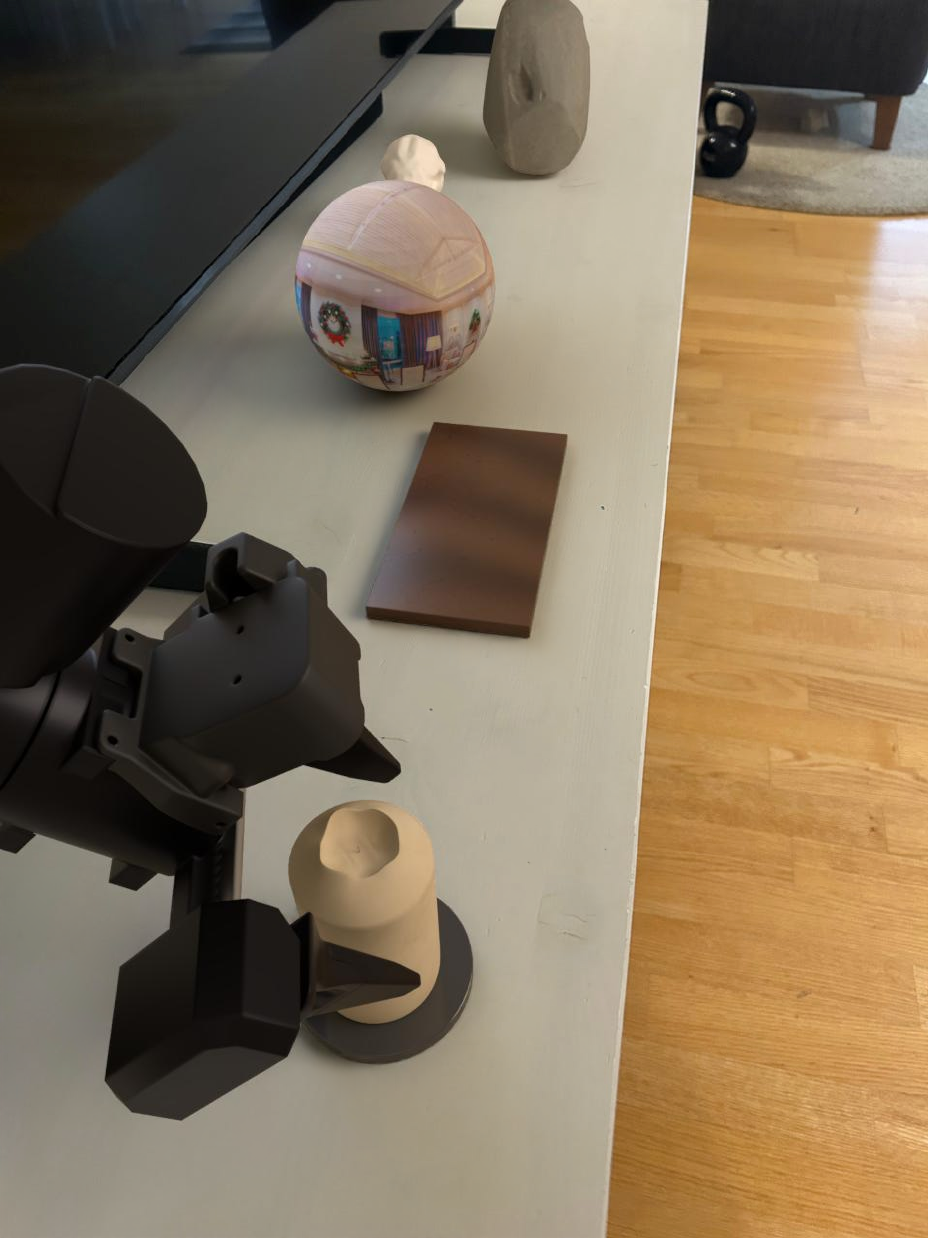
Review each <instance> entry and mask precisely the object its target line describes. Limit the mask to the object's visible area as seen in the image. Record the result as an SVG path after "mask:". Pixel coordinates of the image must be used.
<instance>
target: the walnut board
mask: <svg viewBox="0 0 928 1238" xmlns="http://www.w3.org/2000/svg"><path fill="white" fill-rule="evenodd" d="M568 438H569V437H568V434H567V433H557V432H549V431H536V430H526V429H517V428H515V429H514V428H506V427H505V428H504V427H495V426H494V427H493V426H483V425H475V424H473V425H472V424H463V423H451V422H441V421H433V422H432V425H431V427H430V431H429V434H428V436H427V438H426V441H425V444H424V447H423V450H422V452H421V455H420V458H419V460H418V463H417V466H416V469H415V471H414V474H413V476H412V480H411V481H410V485H409V487H408V490H407V493H406V496H405V499H404V501H403V504H402V506H401V510H400V513H399V515H398V518H397V520H396V523H395V526H394V528H393V530H392V534H391V537H390V539H389V542H388V544H387V548H386V550H385V553H384V556H383V559H382V561H381V564H380V566H379V569H378V572H377V574H376V577H375V580H374V583H373V585H372V588H371V590H370V593H369V596H368V598H367V602H366V604H365V613H366V618H367V619H372V620H380V621H381V620H382V621H389V622H398V623H405V624H415V625H421V626H422V625H423V626H429V627H430V626H431V627H438V628H446V629H454V630H461V631H462V630H463V631H470V632H479V633H486V634H493V635H494V634H495V635H503V636H511V637H519V638H526V639H527V638H528V639H529V638H530V637H531V633H532V628H533V624H534V618H535V614H536V613H535V612H536V606H537V602H538V597H539V591H540V586H541V581H542V576H543V571H544V566H545V561H546V556H547V551H548V547H549V546H548V545H549V541H550V535H551V530H552V524H553V519H554V514H555V510H556V509H555V508H556V505H557V499H558V495H559V488H560V483H561V479H562V472H563V467H564V462H565V457H566V451H567V446H568Z"/></svg>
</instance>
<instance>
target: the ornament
mask: <svg viewBox="0 0 928 1238" xmlns="http://www.w3.org/2000/svg"><path fill="white" fill-rule="evenodd" d="M294 289H295V290H294V291H295V293H294V294H295V301H296V306H297V311H298V315H299V317H300V321H301V323H302V326H303V328H304V330H305V333H306V335H307V336H308V338H309V341H311V344H312V346H314V348H315V349H316V350H317V352H318V353H319V354H320V356H321V357H322V358H323V359H324V361H326V362H327V363H328V364H329V365H330V366H331V367H332V368H333V369H335V370H336V371H337V372H339V373H340V374H341V375H343V376H345V377H346V378H347V379H349V380H351V381H353V382H355V383H358V384H360V385H362V386H364V387H368V388H372V389H376V390H381V391H387V392H406V391H407V392H408V391H409V392H410V391H414V390H419V389H423V388H426V387H429V386H433V385H435V384H437V383H439V382H441V381H443V380H444V379H446V378H448V377H449V376H451V375H453V374H455V372H457V371H458V370H459V369H460V368H462V367H463V365H465V363H467V362H468V360H469V359H470V358H471V357H472V356H473V355H474V353H475V352H476V351H477V349H478V348H479V346H480V345H481V342H482V341H483V339H484V337H485V335H486V333H487V330H488V328H489V325H490V323H491V321H492V316H493V312H494V309H495V300H496V299H495V298H496V277H495V270H494V264H493V259H492V256H491V253H490V250H489V247H488V245H487V242H486V240H485V238H484V236H483V235H482V233H481V231H480V229H479V228H478V225H476V223H475V222H474V221H473V219H472V217H470V215H469V214H468V213H467V212H466V211H465V210H464V209H463V208H462V207H461V206H460V205H459V204H457V202H455V201H454V200H453V199H451V198H450V197H448V196H447V195H446V194H444V193H443V192H441V191H440V192H438V191H436V190H434V189H432V188H430V187H428V186H425V185H421V184H418V183H414V182H410V181H403V180H386V179H384V180H376V181H371V182H368V183H365V184H362V185H359V186H357V187H354V188H351V189H349V190H347V191H346V192H344V193H343V194H341V195H339V196H338V197H337V198H335V199H334V200H332V201H331V202H330V203H329V204H328V205H327V206H325V208H324V209H322V210H321V212H320V213H319V214H318V216H317V217H316V219H314V221H313V222H312V224H311V225H310V227H309V229H308V230H307V232H306V234H305V236H304V239H303V241H302V243H301V246H300V249H299V251H298V256H297V261H296V267H295V273H294Z"/></svg>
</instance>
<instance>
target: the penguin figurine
mask: <svg viewBox="0 0 928 1238" xmlns="http://www.w3.org/2000/svg"><path fill="white" fill-rule="evenodd" d="M379 168H380V171H381V174H382V176H383V177H384V180H403V181H410V182H414V183H418V184H421V185H425V186H428V187H430V188H432V189H434V190H436V191H438V192H440V193H441V191H442V189H443V188H444V181H445V180H444V179H445V178H444V177H445V173H446V165H445V162H444V161H443V160H442V158H441V157H440V154H439V151H438V149H437V146H436V145H435V144H434V143H433V142H432V141H430V140H428V139H426V138H423V137H422V136H419V135H417V134H411V133H410V134H406V135H402V136H401V137H399V138H396V139H395V140H393V141H392V142H391V143H390V144H389V145H388V146H387V149H386V152H385V154H384V156H383V158H382V159H381V161H380V165H379Z"/></svg>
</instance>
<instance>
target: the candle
mask: <svg viewBox="0 0 928 1238" xmlns="http://www.w3.org/2000/svg"><path fill="white" fill-rule="evenodd" d="M287 875H288V883H289V886H290V889H291V893H292V897H293V900H294V905H295V907H296V911H297V915H298V918H300V917H301V916H303V915H304V914H305V913H307V912H311V913H312V914H313V915H314V919H315V922H316V925H317V928H318V932H319V935H320V938H321V939H322V940H324V941H327V942H331V943H334V944H337V945H341V946H344V947H347V948H351V949H354V950H357V951H361V952H364V953H367V954H371V955H374V956H378V957H381V958H384V959H388V960H391V961H394V962H397V963H399V964H401V965H403V966H405V967H407V968H409V969H411V970H413V971H415V972H417V973H419V974H420V977H421V986H420V987H418V988H417V989H415V990H413V991H411V992H410V993H408V994H406V995H404V996H401V997H397V998H393V999H388V1000H383V1001H379V1002H374V1003H370V1004H365V1005H361V1006H356V1007H352V1008H347V1009H343V1010H338V1011H337V1012H339V1013H340V1014H342V1015H343V1016H345V1017H347V1018H349V1019H351V1020H354V1021H357V1022H361V1023H368V1024H379V1023H387V1022H391V1021H394V1020H397V1019H399V1018H402V1017H404V1016H406V1015H407V1014H409V1013H411V1012H412V1011H413V1010H415V1009H416V1008H417V1007H418V1006H419V1005H420V1004H422V1003H423V1001H424V1000H425V999H426V998H427V996H428V995H429V993H430V992H431V990H432V988H433V986H434V984H435V982H436V978H437V975H438V972H439V966H440V940H439V925H438V911H437V898H438V896H437V882H436V869H435V856H434V849H433V843H432V840H431V838H430V836H429V833H428V831H427V830H426V829H425V826H423V824H422V823H421V822H420V821H419V819H417V818H416V816H414V815H413V814H412V813H411V812H409V811H408V810H405V809H404V808H403V807H400V806H398V805H396V804H393V803H391V802H386V801H381V800H375V799H359V800H351V801H346V802H343V803H340V804H337V805H334V806H332V807H330V808H328V809H326V810H325V811H323V812H321V813H319V814H318V815H317V816H315V817H314V818H313V819H311V820H310V822H309V823H307V824H306V825H305V826H304V827H303V829H302V830H301V831H300V832H299V834H298V835H297V838H296V839H295V841H294V843H293V845H292V847H291V850H290V854H289V857H288V863H287Z"/></svg>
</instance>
